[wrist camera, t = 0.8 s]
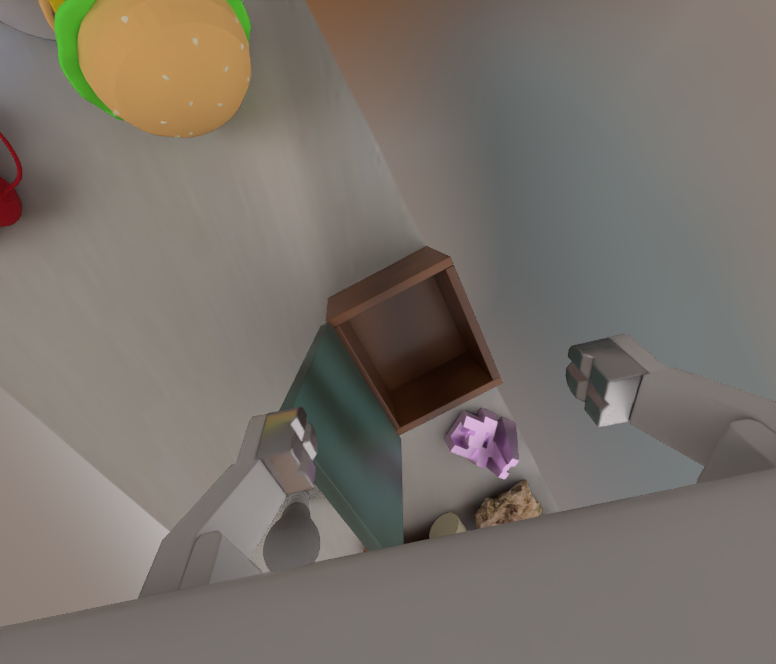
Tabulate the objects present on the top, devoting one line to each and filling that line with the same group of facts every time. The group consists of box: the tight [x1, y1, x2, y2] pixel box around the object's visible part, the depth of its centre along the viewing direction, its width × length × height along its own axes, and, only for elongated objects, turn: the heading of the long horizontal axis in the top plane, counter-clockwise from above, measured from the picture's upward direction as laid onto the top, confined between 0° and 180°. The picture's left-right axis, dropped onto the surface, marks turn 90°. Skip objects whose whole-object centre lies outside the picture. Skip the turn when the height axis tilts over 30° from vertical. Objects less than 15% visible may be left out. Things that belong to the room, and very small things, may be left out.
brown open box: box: [326, 246, 503, 435], centre depth 34 cm, size 12×14×8 cm
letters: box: [444, 408, 519, 480], centre depth 42 cm, size 8×7×6 cm
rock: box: [474, 480, 543, 529], centre depth 49 cm, size 17×5×10 cm
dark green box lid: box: [279, 322, 404, 551], centre depth 25 cm, size 12×14×1 cm
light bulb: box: [263, 491, 320, 571], centre depth 39 cm, size 6×6×10 cm
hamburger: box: [38, 0, 251, 138], centre depth 22 cm, size 12×12×9 cm
